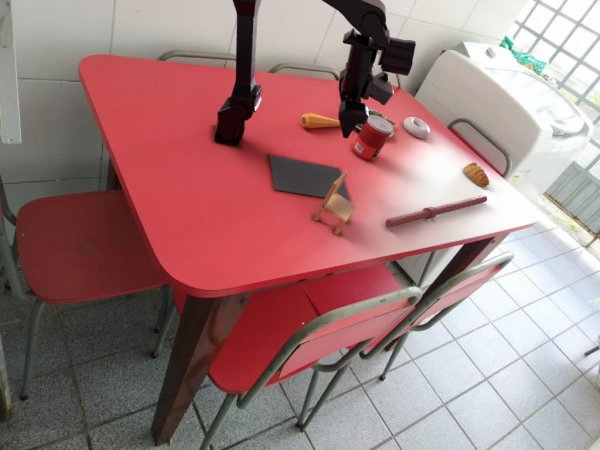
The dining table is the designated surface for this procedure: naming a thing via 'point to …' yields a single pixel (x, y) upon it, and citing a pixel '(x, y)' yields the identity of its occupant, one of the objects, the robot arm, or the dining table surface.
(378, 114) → the salad plate
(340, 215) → the toy chair
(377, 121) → the canned food
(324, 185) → the mat
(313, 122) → the carrot
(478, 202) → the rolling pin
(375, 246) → the dining table surface
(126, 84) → the dining table surface
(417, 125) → the donut
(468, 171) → the pastry
